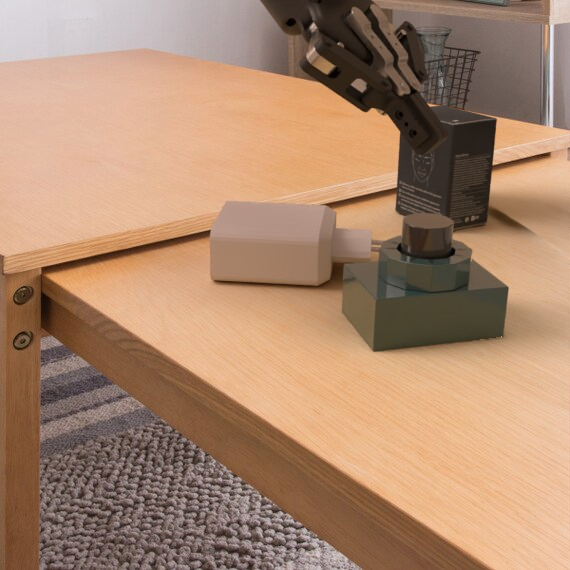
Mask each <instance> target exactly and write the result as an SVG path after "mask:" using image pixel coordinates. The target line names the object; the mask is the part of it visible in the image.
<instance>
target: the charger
mask: <svg viewBox="0 0 570 570" xmlns="http://www.w3.org/2000/svg"><path fill="white" fill-rule="evenodd" d="M383 241H385V239H384V240H383V239H373V229H365V228H345V227H344V228H343V227H337V211H335V210H334V209H333V208H331V207H330V206H328V205H327V204H306V203H305V204H303V203H283V202H263V201H262V202H261V201H243V200H242V201H241V200H240V201H239V200H236V201H235V200H226V201H225V202H224V204H223V206H222V207H221V209H220V211H219V213H218V215H217V216H216V218H215V220H214V221H213V223H212V225H211V229H210V233H209V276H210V281H219V282H220V281H222V282H223V281H224V282H242V283H257V284H258V283H260V284H261V283H262V284H277V285H278V284H279V285H295V286H296V285H297V286H312V287H313V286H315V287H318V286H320V285H322V284H324V283H326V282H328V281H330V280H331V277H332V271H333V265H334V263H336V264H337V263H338V264H352V263H364V262H371V261H372V260H371V259H372V253H379V249H380V247H381V245H382V243H383Z"/></svg>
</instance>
